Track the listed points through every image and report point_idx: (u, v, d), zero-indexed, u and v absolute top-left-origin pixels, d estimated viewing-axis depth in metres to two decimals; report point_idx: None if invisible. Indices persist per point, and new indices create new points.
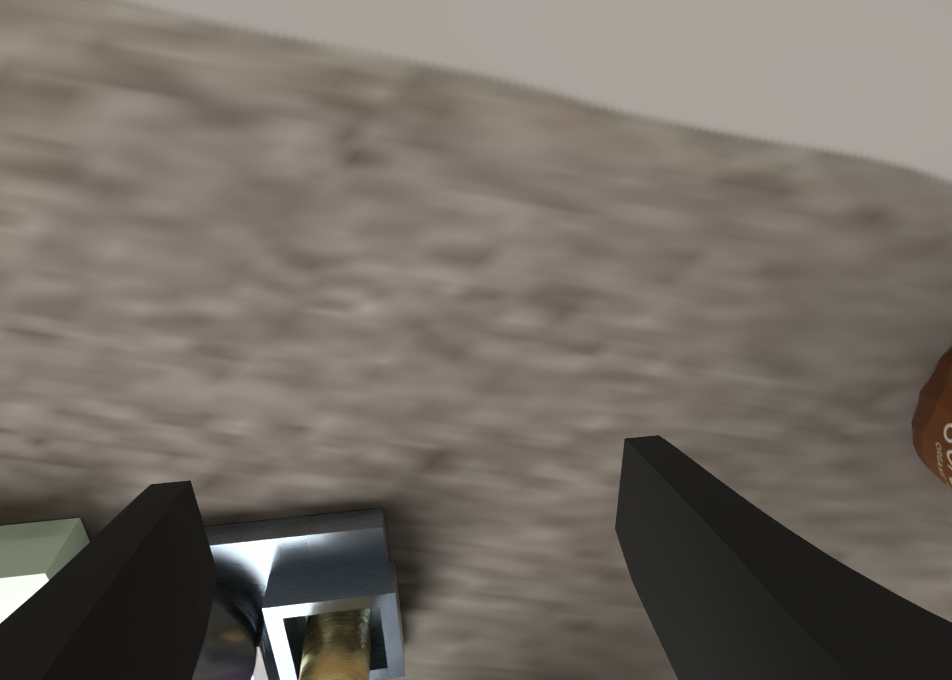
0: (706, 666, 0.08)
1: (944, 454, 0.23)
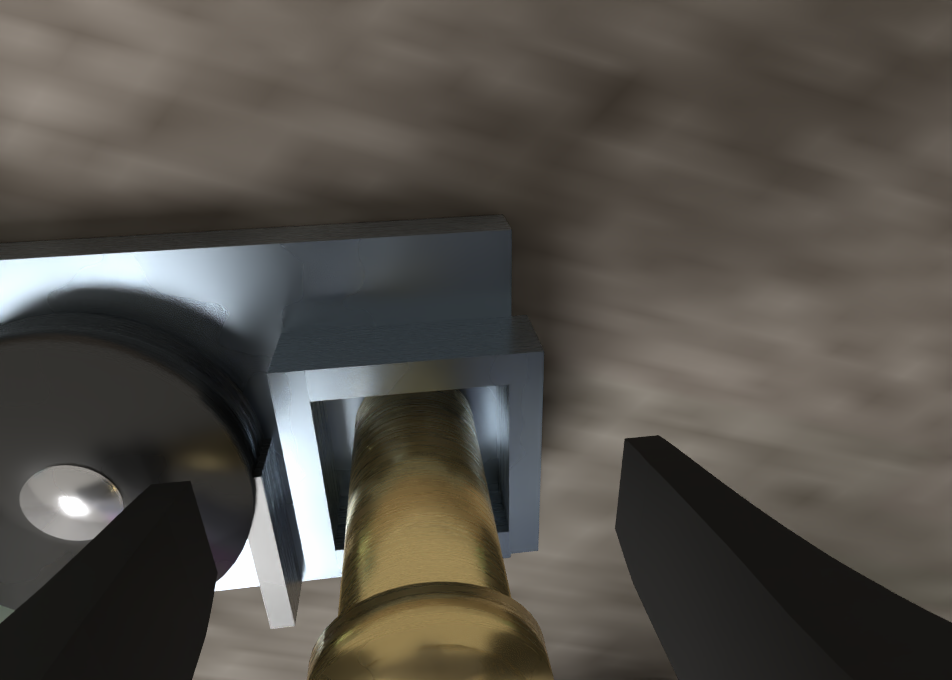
0: (707, 666, 0.08)
1: None
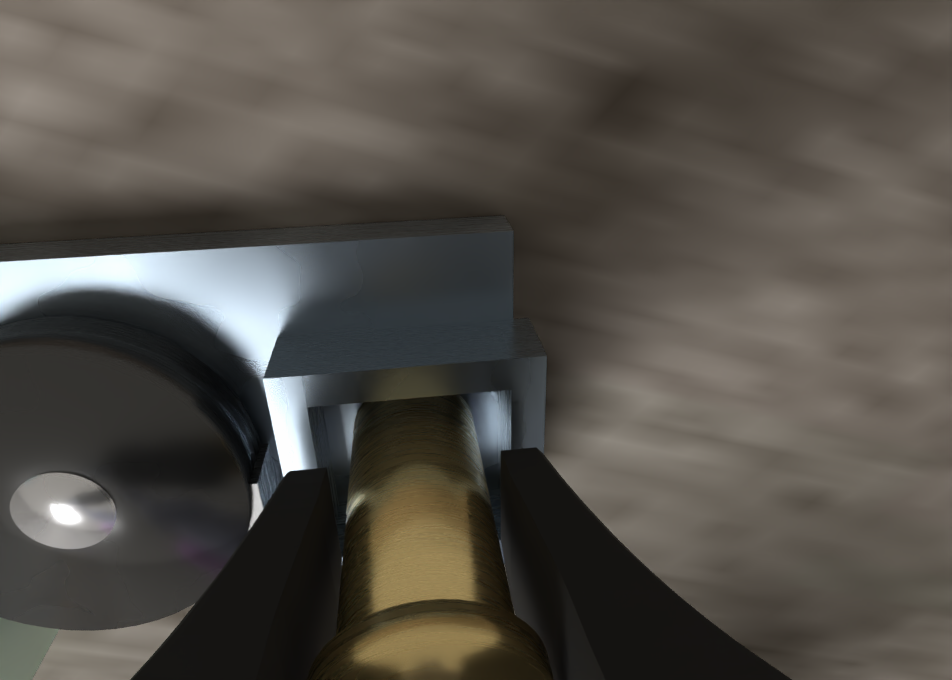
0: None
1: None
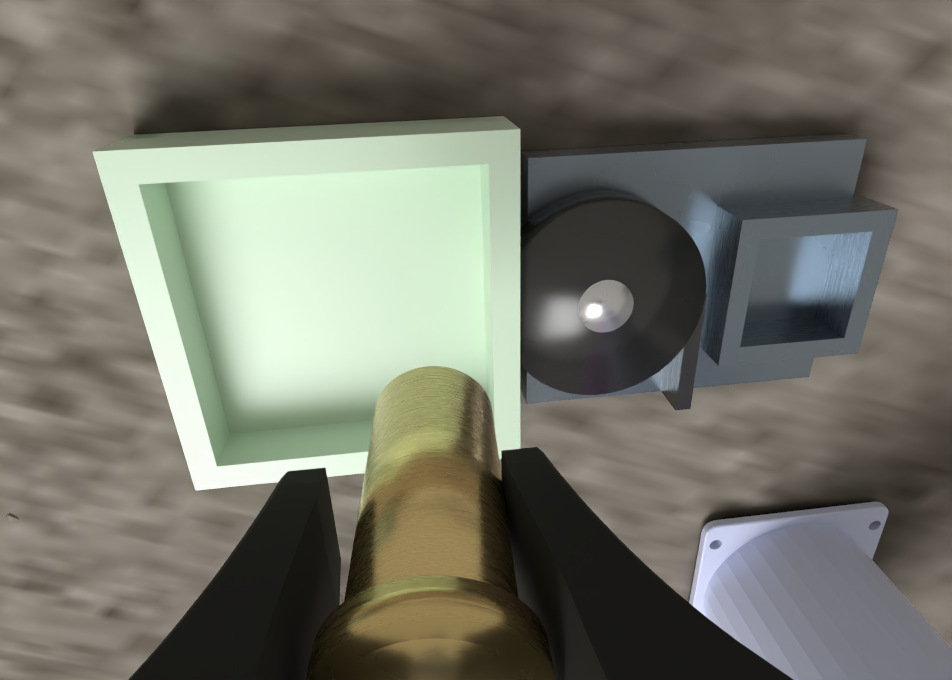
0: None
1: None
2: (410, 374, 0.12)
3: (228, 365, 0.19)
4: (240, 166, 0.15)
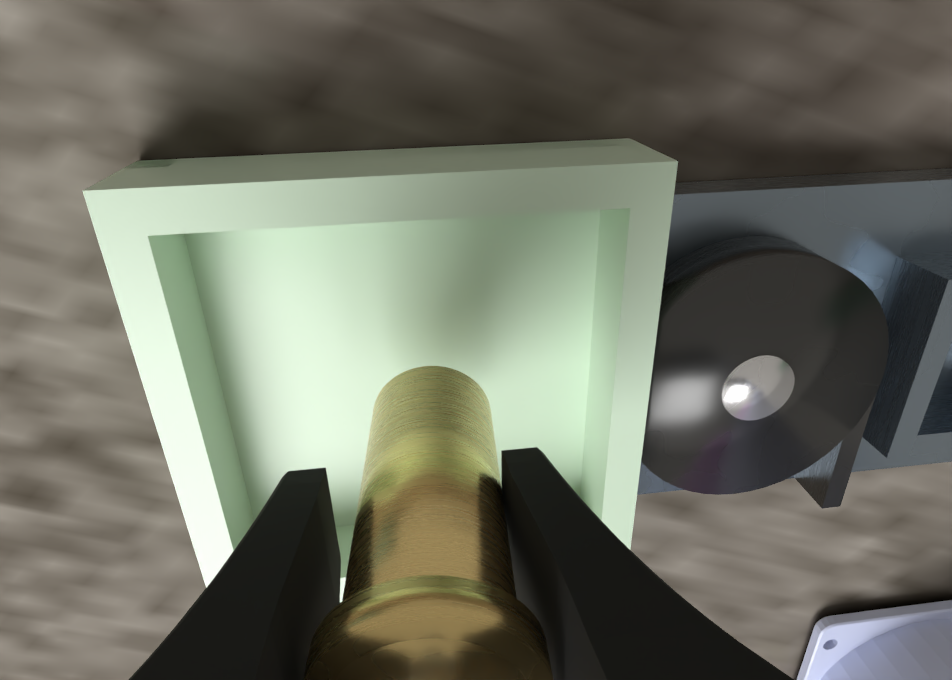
0: None
1: None
2: (409, 373, 0.12)
3: (258, 454, 0.15)
4: (291, 211, 0.11)
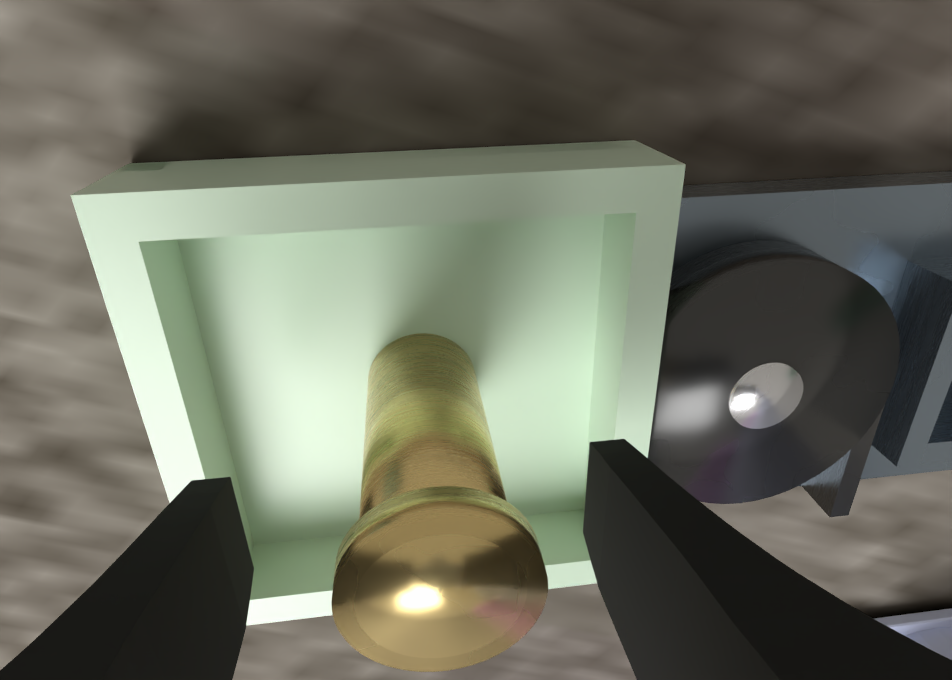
0: (663, 672, 0.08)
1: None
2: (401, 341, 0.13)
3: (254, 463, 0.14)
4: (287, 216, 0.10)
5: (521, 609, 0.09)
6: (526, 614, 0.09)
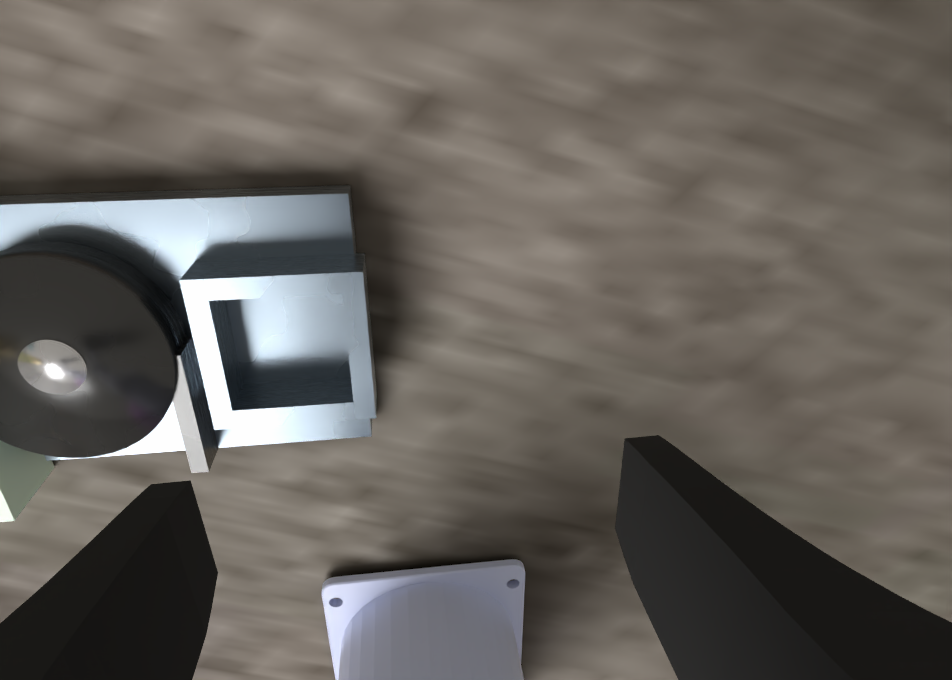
0: (707, 666, 0.08)
1: None
2: None
3: None
4: None
5: None
6: None
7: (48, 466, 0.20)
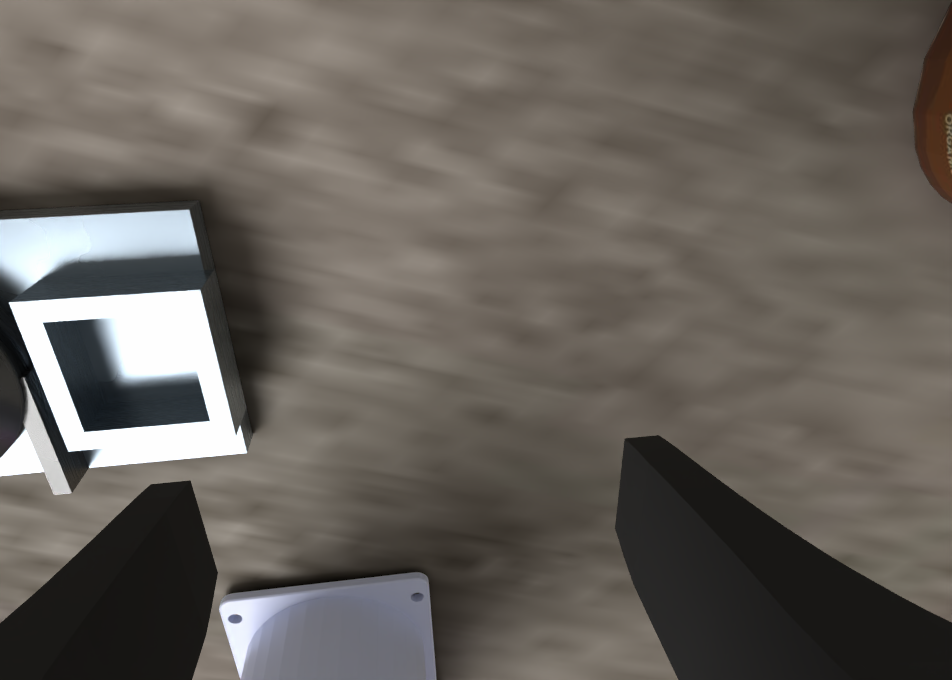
0: (707, 666, 0.08)
1: None
2: None
3: None
4: None
5: None
6: None
7: None
